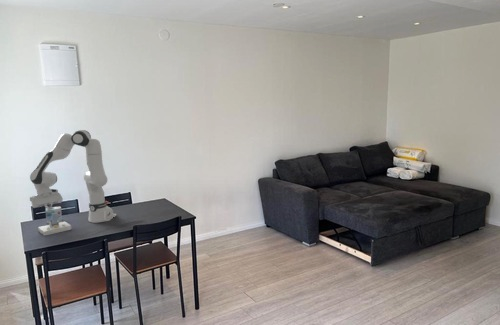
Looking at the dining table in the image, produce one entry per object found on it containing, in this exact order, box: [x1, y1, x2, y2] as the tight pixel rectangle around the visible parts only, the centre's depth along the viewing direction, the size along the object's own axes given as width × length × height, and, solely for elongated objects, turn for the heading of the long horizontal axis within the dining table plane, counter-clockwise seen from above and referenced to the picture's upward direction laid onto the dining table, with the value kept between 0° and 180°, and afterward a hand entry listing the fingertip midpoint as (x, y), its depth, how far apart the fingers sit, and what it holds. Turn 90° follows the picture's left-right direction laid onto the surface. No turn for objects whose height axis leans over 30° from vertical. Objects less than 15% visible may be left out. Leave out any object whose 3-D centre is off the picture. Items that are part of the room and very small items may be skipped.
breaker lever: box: [51, 212, 57, 226], centre depth 260 cm, size 2×3×11 cm
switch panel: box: [37, 220, 72, 236], centre depth 261 cm, size 13×18×6 cm
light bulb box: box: [45, 206, 63, 225], centre depth 280 cm, size 11×7×11 cm, turn 122°
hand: (50, 209), depth 265 cm, fingers closed
